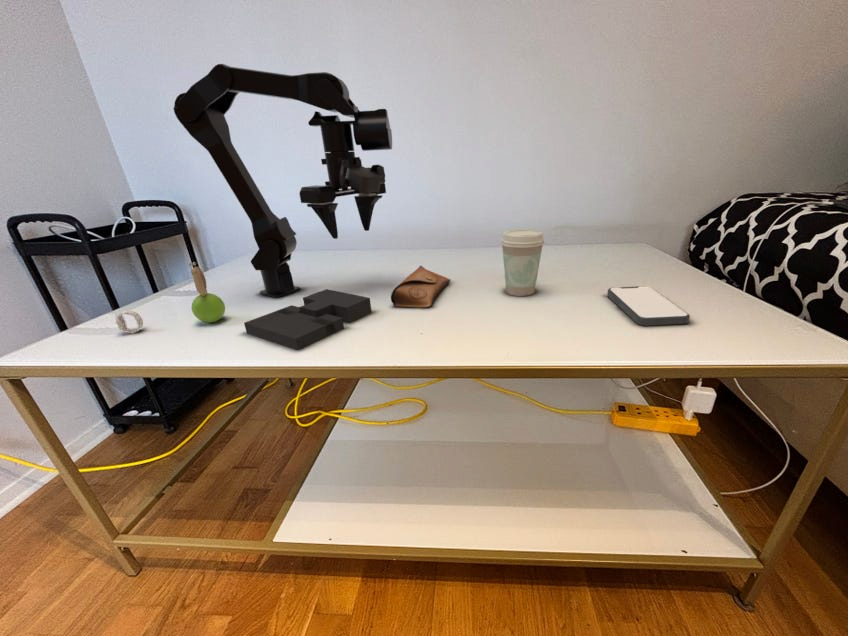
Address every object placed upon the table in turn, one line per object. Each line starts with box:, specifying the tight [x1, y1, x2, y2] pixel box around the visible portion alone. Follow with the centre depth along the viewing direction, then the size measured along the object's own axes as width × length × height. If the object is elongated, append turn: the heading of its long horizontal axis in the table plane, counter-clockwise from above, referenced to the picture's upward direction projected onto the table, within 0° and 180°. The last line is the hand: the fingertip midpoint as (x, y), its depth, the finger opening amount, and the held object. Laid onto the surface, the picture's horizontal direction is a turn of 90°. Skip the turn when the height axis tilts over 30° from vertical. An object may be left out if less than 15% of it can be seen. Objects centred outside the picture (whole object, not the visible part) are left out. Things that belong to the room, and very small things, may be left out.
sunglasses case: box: [390, 265, 451, 309], centre depth 87 cm, size 18×7×7 cm
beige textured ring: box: [114, 309, 144, 334], centre depth 74 cm, size 4×2×4 cm, turn 104°
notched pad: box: [243, 305, 345, 351], centre depth 72 cm, size 14×10×2 cm
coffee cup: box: [500, 229, 545, 297], centre depth 83 cm, size 9×9×12 cm
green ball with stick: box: [187, 261, 226, 323], centre depth 75 cm, size 5×6×12 cm
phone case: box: [606, 285, 691, 327], centre depth 74 cm, size 9×2×16 cm
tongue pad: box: [299, 288, 373, 324], centre depth 78 cm, size 12×10×3 cm
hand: (351, 234), depth 87 cm, fingers open, 9 cm apart
